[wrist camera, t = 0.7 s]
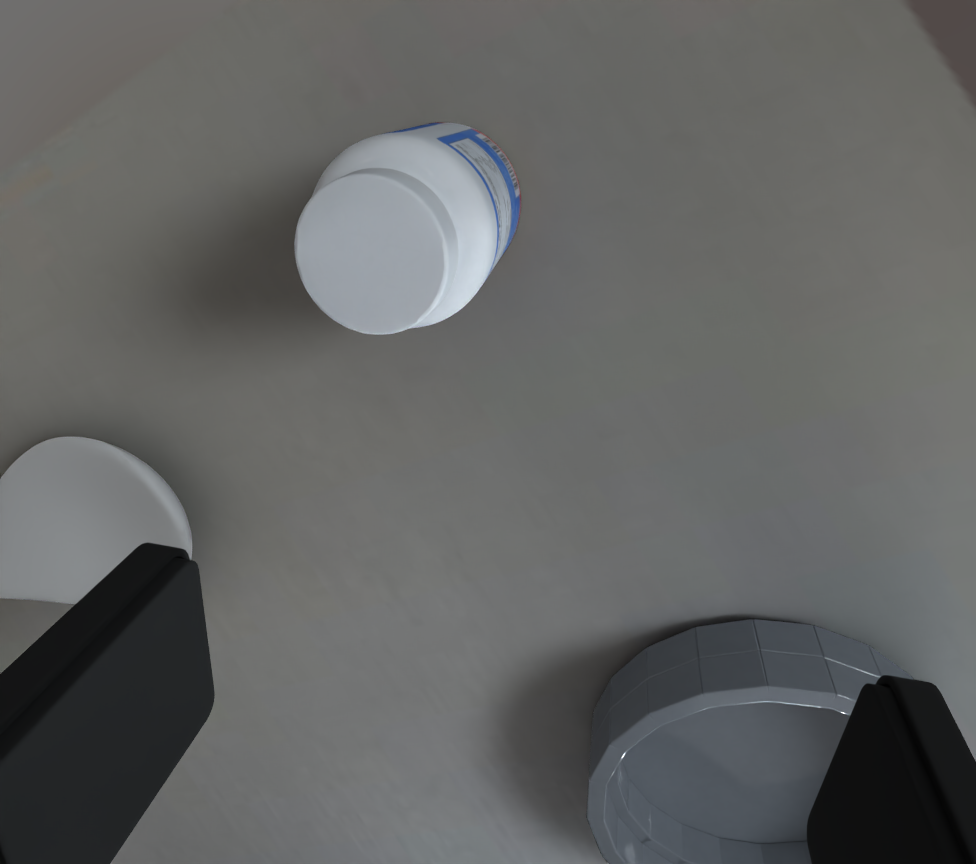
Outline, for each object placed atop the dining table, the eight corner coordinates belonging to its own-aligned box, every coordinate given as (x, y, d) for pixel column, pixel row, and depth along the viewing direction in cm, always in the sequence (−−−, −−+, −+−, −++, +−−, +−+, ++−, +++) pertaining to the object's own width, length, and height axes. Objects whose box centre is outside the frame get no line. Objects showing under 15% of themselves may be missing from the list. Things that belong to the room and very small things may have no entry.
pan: (748, 551, 30) (766, 620, 26) (1016, 746, 32) (1070, 839, 28) (530, 738, 37) (518, 816, 33) (760, 890, 39) (775, 981, 35)
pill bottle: (374, 259, 28) (258, 337, 19) (386, 109, 25) (260, 120, 17) (511, 287, 27) (456, 380, 19) (538, 136, 25) (488, 163, 16)
